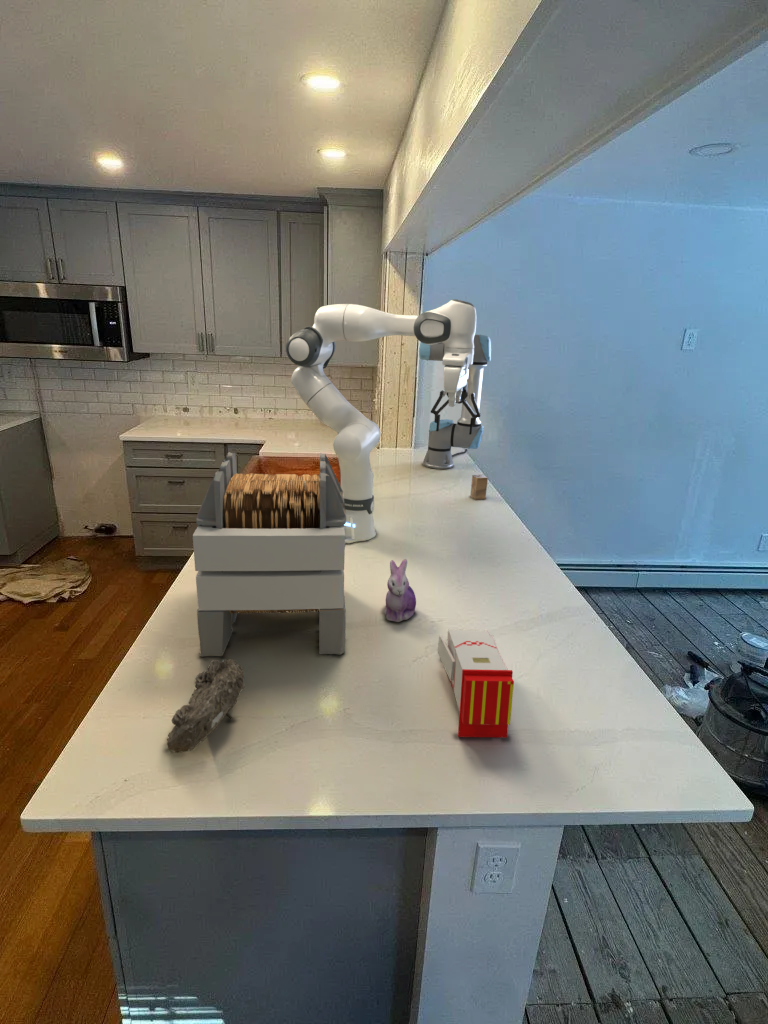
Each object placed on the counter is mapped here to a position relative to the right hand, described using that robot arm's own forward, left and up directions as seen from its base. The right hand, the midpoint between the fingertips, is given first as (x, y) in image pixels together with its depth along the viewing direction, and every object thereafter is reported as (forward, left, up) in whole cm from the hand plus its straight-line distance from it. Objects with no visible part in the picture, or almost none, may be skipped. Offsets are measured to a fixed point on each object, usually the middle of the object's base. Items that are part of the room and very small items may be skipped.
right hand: (454, 432), depth 233 cm
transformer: (+116, -24, -28) cm, 121 cm away
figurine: (+103, +4, -28) cm, 107 cm away
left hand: (+55, +7, +20) cm, 59 cm away
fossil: (+153, -20, -28) cm, 156 cm away
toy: (+129, +26, -28) cm, 135 cm away
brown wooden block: (-4, +12, -28) cm, 31 cm away
